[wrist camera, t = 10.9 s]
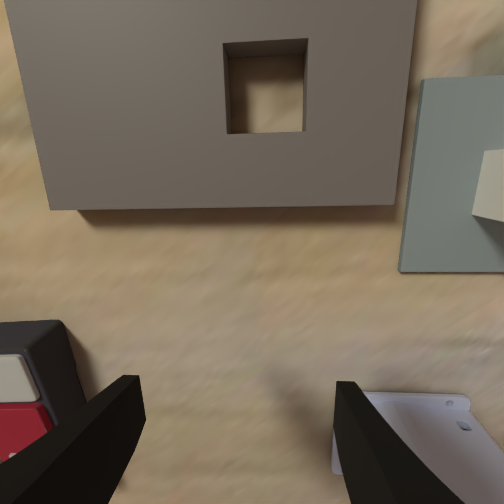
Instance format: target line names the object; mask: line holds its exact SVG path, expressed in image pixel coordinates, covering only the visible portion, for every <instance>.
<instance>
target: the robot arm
mask: <svg viewBox="0 0 504 504" xmlns="http://www.w3.org/2000/svg"><path fill="white" fill-rule="evenodd" d="M447 401H448V402H447ZM470 406H471V401H470V399H469V398H468V397H467V396H466V395H461V394H429V393H397V392H365V391H362V390H361V389H360V388H359V386H358V385H357V384H356V383H355V382H351V381H337V382H336V396H335V411H334V425H333V441H332V455H331V470H332V472H333V473H334V474H336V475H343V476H344V480H345V483H346V487H347V491H348V494H349V498H350V501H351V504H504V452H503V451H502V450H501V449H500V447H499V446H498V445H497V444H496V443H495V441H494V440H493V439H492V438H491V436H490V435H489V434H488V433H487V432H486V430H485V429H484V428H483V427H482V425H481V424H480V423H479V422H478V420H477V419H476V418H475V417H474V416H473V414H472V413H471V412H470V411H469V410H470ZM145 421H146V416H145V409H144V403H143V397H142V391H141V384H140V378H139V375H123V376H121V377H120V378H118V379H117V380H116V381H114V382H113V383H112V384H110V385H109V386H108V387H107V388H105V389H104V390H103V391H101V392H100V393H99V394H98V395H96V396H95V397H94V398H92V399H91V400H90V401H89V402H87V403H86V404H85V405H83V406H82V407H81V408H79V409H78V410H77V411H76V412H74V413H73V414H72V415H70V416H69V417H68V418H66V419H65V420H64V421H62V422H61V423H59V424H58V425H57V426H55V427H54V428H52V429H51V430H50V431H48V432H47V433H45V434H44V435H43V436H41V437H40V438H39V439H37V440H36V441H34V442H33V443H31V444H30V445H29V446H27V447H26V448H24V449H23V450H21V451H20V452H18V453H17V454H15V455H13V456H12V457H10V458H9V459H7V460H6V461H4V462H2V463H1V464H0V504H108V503H109V501H110V499H111V497H112V495H113V493H114V491H115V489H116V487H117V485H118V483H119V481H120V479H121V477H122V475H123V473H124V471H125V469H126V467H127V465H128V463H129V461H130V459H131V457H132V455H133V453H134V451H135V448H136V446H137V443H138V441H139V438H140V435H141V433H142V430H143V427H144V424H145Z"/></svg>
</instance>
